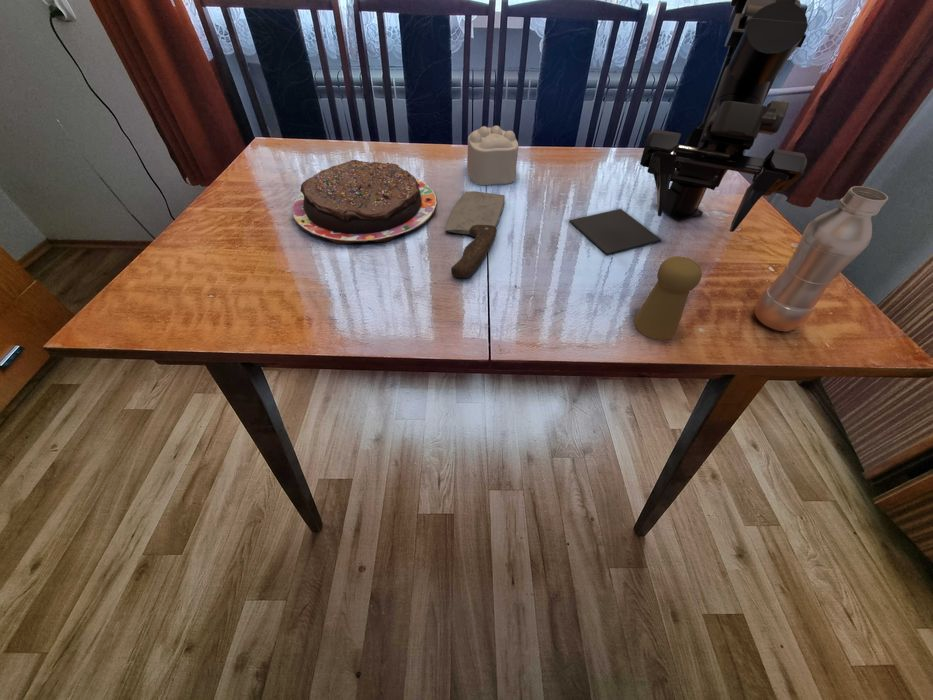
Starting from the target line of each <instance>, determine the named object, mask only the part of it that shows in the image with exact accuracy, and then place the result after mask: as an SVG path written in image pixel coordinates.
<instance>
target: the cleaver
mask: <svg viewBox="0 0 933 700" xmlns="http://www.w3.org/2000/svg"><path fill="white" fill-rule="evenodd" d="M505 198H506V197H505V194H500V193H491V192H484V191H476V190H475V191H474V190H473V191H465V192H464V193H463V194H462V195H461V197H459V199H458V201H457V202H456V203H455V204H454V206H453V208H452V210H451V212H450V213H449V216H448V219H447V222H446V226H445V229H444V232H449V233H454V234H461V235H469V236H470V237H472V238H474V239H473V240H471V242H469V243H468V244H467V245H466V246H465V247H464V249H463V252H462V256H461V258H460V259H459V260H458V261H457V262H456V263H455V264H454V265H453V266H452V267H451V269H450V271H451V273H450V274H452V276H454V277H457V278H461V279H469V278H470V277H471V276H472V275H473V274H474V273H475V272H476V270H477V269H478V268H479V266H480V265H481V263H483V261H484V259H485V257H486V256H487V254H488V252H489V251H490V250H491V247H492V245H493V243H494V241H495V239H496V235H497V231H498V229H497V226H498V223H499V220H500V218H501V216H502V214H503V213H502V212H503V209H504V207H505V201H506V200H505Z"/></svg>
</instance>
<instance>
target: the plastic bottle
mask: <svg viewBox="0 0 933 700" xmlns="http://www.w3.org/2000/svg"><path fill="white" fill-rule="evenodd" d="M888 200H889V196H888V194H886V193H884V192H882V191H881V190H878V189H875V188H872V187H868V186H862V185H861V186H860V185H858V186H857V185H854V186H852V187H850V188H849V189H848V191H846V193H845V195H844V196H843V197H841V198H840V200H839V201H838V207H836V208H833V209H830V210H828V211H826V212H823V213H822V214H820V215H818V216H816V217H814V219H812V220H811V221H810V222H809V223H807V226H806V227H805V229H804V231H803V233H802V235H801V237H800V239H799V242H798V244H797V246H796V248H795V250H794V252H793V253H792V255H791V257H790V258H789V259H788V262H787V263H786V265H785V267H784V268H783V270H782V271H781V272H780V274H779V275H778V276H777V277H776V279H775V280H774V281H773V282H772V283H771V285H770V286H768V287H767V288H766V289H765V290H764V291H763V292H762V293H761V294H760V296H759V297H758V298H757V300H756V303H755V305H754V308H753V309H754V316H755V317H756V319H757V320H758V321H759V323H761V324H762V325H764V326H765V327H768V328H770V329H772V330H775V331H779V332H790V331H793V330H797V329H800V328H801V327H802V326H803V325H804V324H806V323H807V322H808V321H809V320H810V318H811V316H812V314H813V312H814V310H815V308H816V305H817V304H818V302H819V300H820V299H821V298H822V296H823V294H824V293H825V291H826V290H827V289H828V287H829V286H830V284H831V283H833V281H834V280H835V279H836V278H837V277H838V276H839V274H840V273H841V272H842V271H843V270H844V269H845V268H846V267H848V266H849V264H851V263H852V262H853V261H854V260H855V259H856V258H857V257H858V256H859V255H860V254H861V253H863V252H864V250H865V249H866V248H867V247H868V246H869V245H870V242H871V240H872V236H873V222H872V217H875V216H877V215H878V214H879V212H881V209H882V207H883V206H884V205H885V204H886V203H887V202H888Z"/></svg>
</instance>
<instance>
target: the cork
mask: <svg viewBox="0 0 933 700" xmlns="http://www.w3.org/2000/svg"><path fill="white" fill-rule="evenodd" d="M702 276H703V271H702V267H701V265H700V264H699V263H698V262H697V261H696V260H693V259H691V258H690V257H686V256H682V255H677V256H676V255H675V256H673V255H672V256H670V257H668V258H666V259H664V261H662V262H661V264H659V267H658V269H657V282H656V283H655V285H654V286H653V288H652V289H651V291H649V294H648V295H647V297H646V299H645V300H644V301H643V303H642V305H641V307H639V309H638V311H637V313H636V314H635V316H634V318H633V324H634V327H635V329H636V330H637V331H638V332H639V333H640V334H641V335H643V336H645V337H647V338H650V339H653V340H657V341H664V340H670V339H672V338H673V337H674V336H675V335H676V333H677V331H678V329H679V328H678V327H679V324H680V321H681V319H682V315H683V312H684V309H685V306H686V303H687V300H688V297H689V295H690V291H693V290H694V289H695V288H696V287H697V286H698V285H699V283H700V282H701V280H702Z"/></svg>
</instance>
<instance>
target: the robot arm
mask: <svg viewBox="0 0 933 700" xmlns="http://www.w3.org/2000/svg"><path fill="white" fill-rule="evenodd" d="M729 7H733V8H732V11H731V14H730V17H729V19H728V28H729V31H728V34H727V37H726V39H725V42H724V48H728V49H727V52H726V55H725V57H724V60H723V63H722V66H721V69H720V71H719V74H718V77H717V80H716V82H715V85H714V87H713V91H712V93H711V97H710V99H709V102H708V104H707V106H706V107H707V108H706V110H705V113H704V116H703V118H702V121H701V124H699V125H698V126H697V127H696V128H694V130H693V131H692V132H691V133H690V134H689V135H688V137H687V139H686V141H685V143H684V144H679V142H680V140H681V136H682V132H676V131H675V132H674V131H669V130H664V129H663V130H662V129H656V128H655V129H653V130H652V131H650V132H649V133H648V136H647V139H646V142H645V145H644V147H643V150H642V155H641V158H640V162H639V165H640V166H642V167H644V168H647V173H648V174H651V175H653V179H654V183H655V188H656V207H657V208H656V209H657V217H662V214H663V212H664V213H665V214H668V216H669V217H671V218H673V219H674V220H675V221H678V222H679V221H684V220H688V219H692V218H696V217H701V216H702V215H703V214H704V211H702V210H701V209H699V207H700V205H701V202H702V200H703V199H704V196H705V193H706V191H707V189H709V190H711V191H715V190H716V188H719V187H720V185H721V182H722V180H723V178H724V177H725V175H726V174H727V172H728V171H733V172H736V173H737V172H739V173H743V174H748V175H753V177H752V180H751V181H752V183H750V185H749V186H748V187H747V188H746V189H745V192H744V194H743V196H742V199H741V201H740V203H739V206H738V208H737V209H736V212H735V214H734V216H733V219H732V221H731V223H730V228H729V232H730V233H733V232H735V231H736V230H737V228H738V227H739V226H740V224H741V223H742V222H743V220H744V219H746V216H747V215H748V214H749V212H750V211H751V210H752V209H753V207H754V206H755V205H756V204H757V202H758V201H759V200H760V199H761V198H762V197H763V196H764V197H766V196H767V197H769V196H772V195H773V194H775V192H777V193H778V192H784V191H786V190H787V189H788V188H789V187H791V185H793V184H794V183H796V181H798V180H799V179H800V178H802V176H804V172H805V170H806V167H807V165H808V159H807V157H806V154H805V153H803V152H798V151H792V150H785V149H781V148H780V149H779V148H773V149H772V150H771V151H770V152H769V153H768V154H767V155H766V157H764V158H762V157H757V156H751V155H745V154H746V151H749V150H751V148H752V147H753V146H754V143H755V140H756V139H757V138H758V135H759V134H761V135H770V136H772V135H774V134H776V133H778V132H779V130H780V129H781V126H782V124H783V121H784V120H785V117H786V114H787V110H788V108H789V106H790V105H789V104H790V102H787V101H778V100H771V101H770V102H768V103H767V105H763V104H764V100H765V97H766V96H767V92H768V89H769V86H770V84H771V81H773V80H775V78H776V77H777V76H778V75H779V74H780V72H781V71H782V69H783V68H784V66H785V65H786V63H787V62H788V60H789V59H790V57H791V56H792V54H793V53H794V52H795V50H796V49H797V48H801V47H802V46H803V44H804V41H805V40H806V38H807V36H808V35H807V34H806V32H807V30H808V26H809V24H808V18H807V14H806V13H805V11H804V10H803V8H802V4H801V1H800V0H731V2H730V4H729Z"/></svg>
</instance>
